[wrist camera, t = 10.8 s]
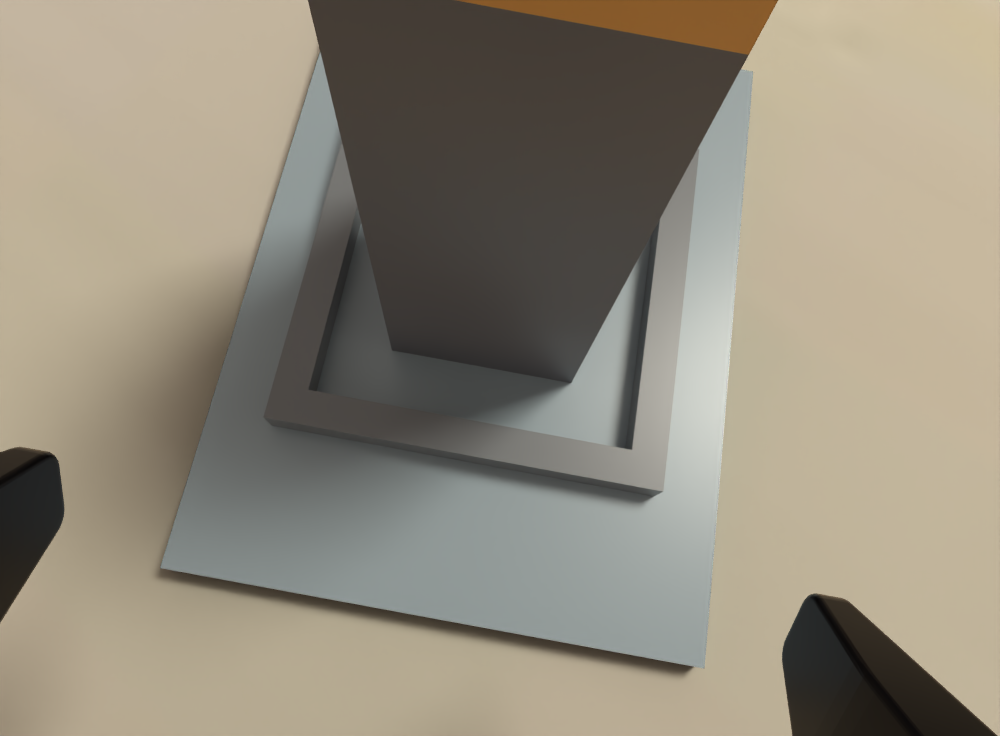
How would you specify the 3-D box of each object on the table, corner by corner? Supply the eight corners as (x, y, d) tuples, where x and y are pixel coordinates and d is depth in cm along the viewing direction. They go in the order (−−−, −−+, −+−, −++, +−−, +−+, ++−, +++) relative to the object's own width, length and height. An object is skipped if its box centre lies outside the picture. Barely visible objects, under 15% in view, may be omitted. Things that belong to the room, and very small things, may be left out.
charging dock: (696, 666, 17) (720, 672, 15) (170, 569, 16) (141, 565, 15) (744, 85, 22) (767, 46, 20) (341, 9, 21) (332, -36, 20)
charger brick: (571, 383, 18) (784, -10, 6) (391, 350, 18) (282, -105, 6) (594, 223, 19) (805, -337, 8) (428, 193, 19) (392, -414, 8)
